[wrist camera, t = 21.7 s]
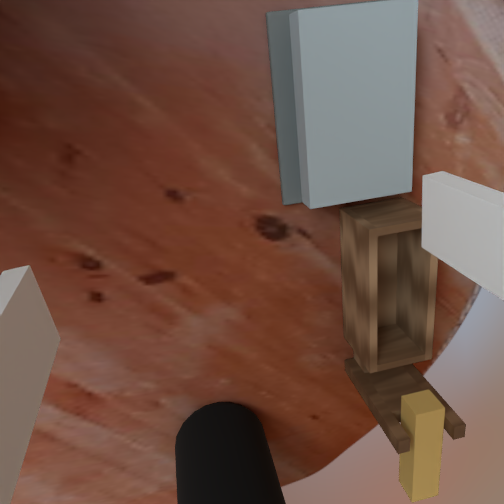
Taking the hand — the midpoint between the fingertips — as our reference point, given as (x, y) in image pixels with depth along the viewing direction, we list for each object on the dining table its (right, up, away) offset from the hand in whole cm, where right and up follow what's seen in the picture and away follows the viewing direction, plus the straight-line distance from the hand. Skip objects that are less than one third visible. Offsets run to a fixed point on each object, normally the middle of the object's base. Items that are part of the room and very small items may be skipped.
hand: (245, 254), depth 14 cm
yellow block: (+17, -19, +31) cm, 41 cm away
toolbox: (+14, -4, +35) cm, 38 cm away
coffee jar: (-4, -22, +39) cm, 45 cm away
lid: (+9, +13, +25) cm, 29 cm away
